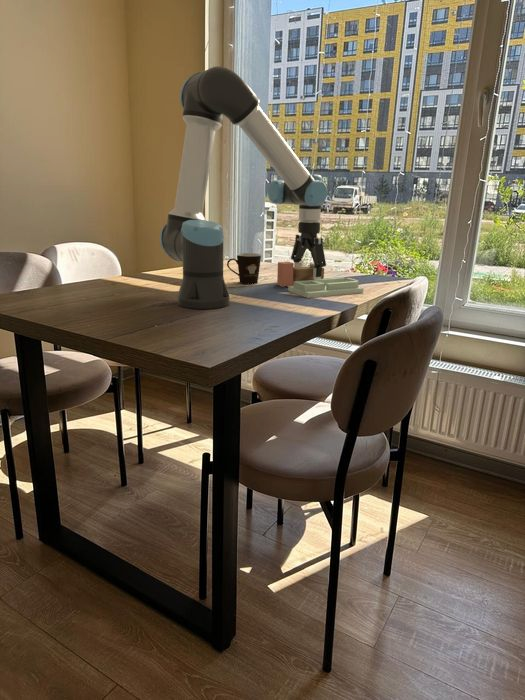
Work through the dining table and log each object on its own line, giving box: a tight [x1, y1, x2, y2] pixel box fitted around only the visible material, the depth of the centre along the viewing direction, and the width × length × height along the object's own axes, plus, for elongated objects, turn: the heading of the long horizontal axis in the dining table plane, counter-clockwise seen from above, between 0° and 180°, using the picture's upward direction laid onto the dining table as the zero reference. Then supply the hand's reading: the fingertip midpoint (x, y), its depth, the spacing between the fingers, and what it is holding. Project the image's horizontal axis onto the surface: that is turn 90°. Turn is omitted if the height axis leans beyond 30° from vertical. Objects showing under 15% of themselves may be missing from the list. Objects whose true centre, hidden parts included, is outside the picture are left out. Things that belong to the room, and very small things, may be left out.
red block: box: [276, 261, 294, 288], centre depth 180 cm, size 4×4×8 cm
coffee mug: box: [226, 252, 262, 285], centre depth 183 cm, size 12×9×10 cm
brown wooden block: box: [293, 262, 325, 282], centre depth 184 cm, size 11×4×8 cm, turn 111°
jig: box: [287, 276, 364, 299], centre depth 172 cm, size 22×12×4 cm, turn 118°
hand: (306, 283), depth 186 cm, fingers open, 12 cm apart
